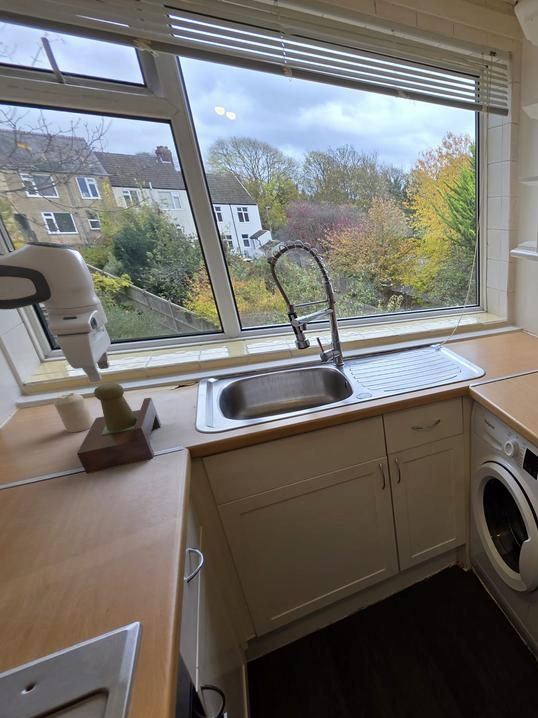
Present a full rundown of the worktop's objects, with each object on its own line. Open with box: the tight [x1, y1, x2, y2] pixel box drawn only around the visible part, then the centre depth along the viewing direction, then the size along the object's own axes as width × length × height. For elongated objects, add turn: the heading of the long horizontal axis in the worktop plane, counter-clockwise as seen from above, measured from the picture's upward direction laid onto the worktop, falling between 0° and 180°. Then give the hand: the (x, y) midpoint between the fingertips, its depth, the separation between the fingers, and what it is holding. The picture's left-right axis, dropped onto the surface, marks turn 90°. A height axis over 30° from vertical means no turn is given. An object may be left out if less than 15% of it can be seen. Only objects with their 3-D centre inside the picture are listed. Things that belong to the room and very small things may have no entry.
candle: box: [53, 392, 95, 433], centre depth 110 cm, size 6×6×10 cm
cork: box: [93, 382, 137, 431], centre depth 101 cm, size 6×6×11 cm
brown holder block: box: [76, 397, 162, 474], centre depth 102 cm, size 12×20×8 cm, turn 34°
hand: (101, 374), depth 97 cm, fingers open, 8 cm apart
